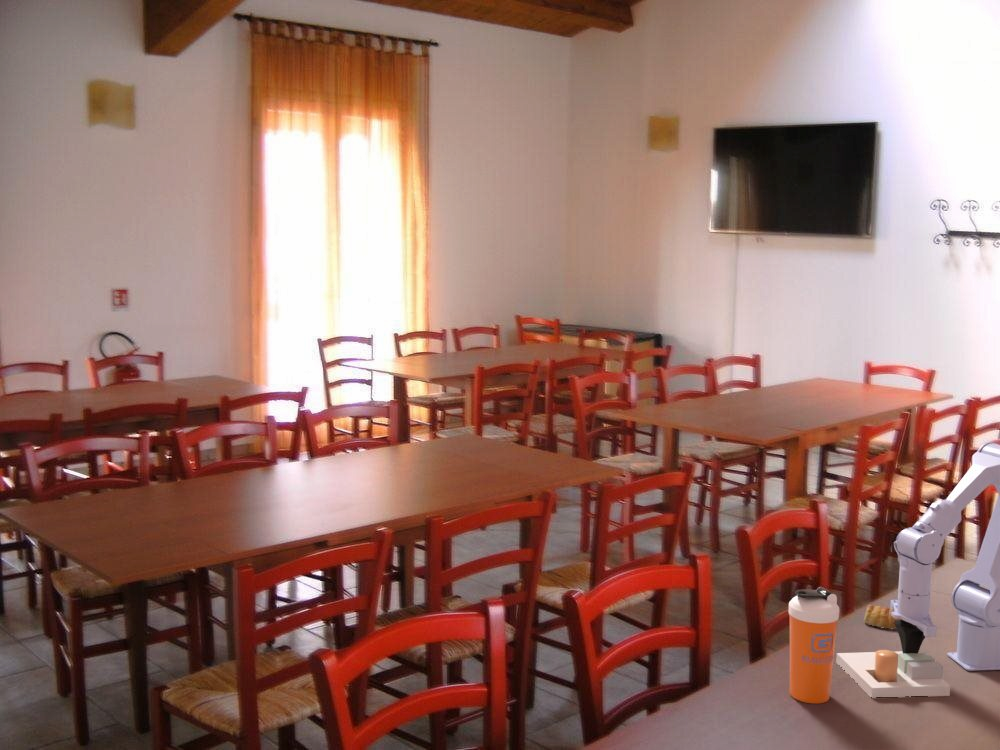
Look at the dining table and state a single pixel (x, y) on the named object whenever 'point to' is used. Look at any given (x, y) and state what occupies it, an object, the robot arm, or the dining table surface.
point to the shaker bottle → (812, 644)
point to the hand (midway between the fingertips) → (909, 658)
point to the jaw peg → (886, 666)
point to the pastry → (879, 617)
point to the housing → (913, 683)
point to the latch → (913, 659)
